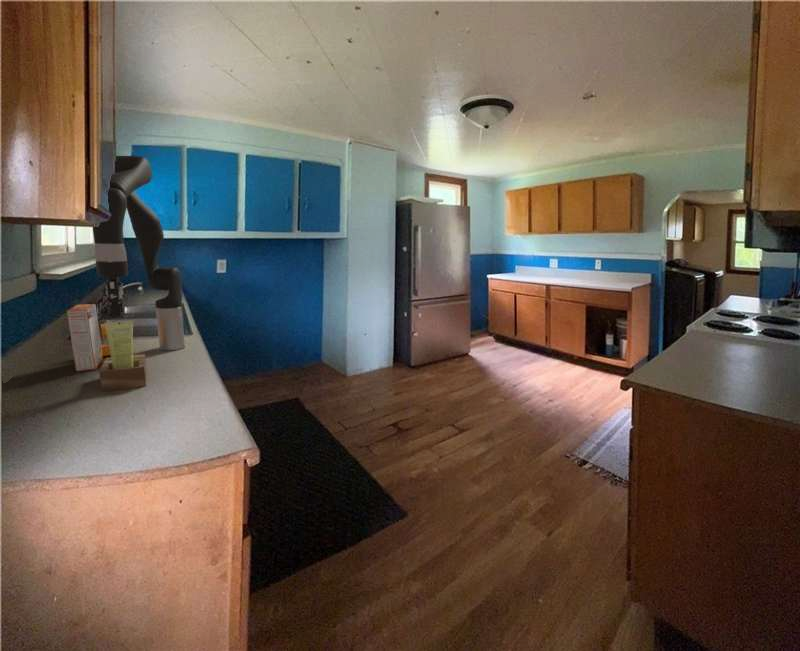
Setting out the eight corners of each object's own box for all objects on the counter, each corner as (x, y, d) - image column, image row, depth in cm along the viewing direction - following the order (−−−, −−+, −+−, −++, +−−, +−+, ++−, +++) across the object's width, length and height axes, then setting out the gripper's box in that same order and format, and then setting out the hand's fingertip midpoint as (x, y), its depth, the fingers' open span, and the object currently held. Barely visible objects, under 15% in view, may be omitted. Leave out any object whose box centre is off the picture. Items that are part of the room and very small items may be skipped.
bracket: (96, 352, 160) (92, 322, 158) (118, 350, 164) (115, 321, 162) (96, 358, 152) (92, 327, 149) (119, 356, 156) (116, 325, 154)
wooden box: (107, 376, 132) (105, 357, 131) (147, 371, 138) (145, 354, 137) (101, 391, 119) (99, 371, 118) (146, 386, 124) (144, 366, 123)
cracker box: (83, 361, 148) (75, 304, 144) (103, 359, 151) (96, 303, 147) (74, 372, 136) (65, 310, 132) (96, 370, 139) (88, 309, 135)
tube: (123, 380, 129) (116, 319, 125) (139, 380, 129) (133, 320, 125) (111, 386, 123) (103, 323, 119) (128, 386, 123) (121, 323, 119)
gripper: (98, 258, 123) (104, 311, 126) (92, 260, 111) (99, 319, 114) (128, 258, 126) (133, 310, 129) (125, 260, 114) (131, 317, 117)
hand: (117, 314), depth 122 cm, fingers open, 8 cm apart
